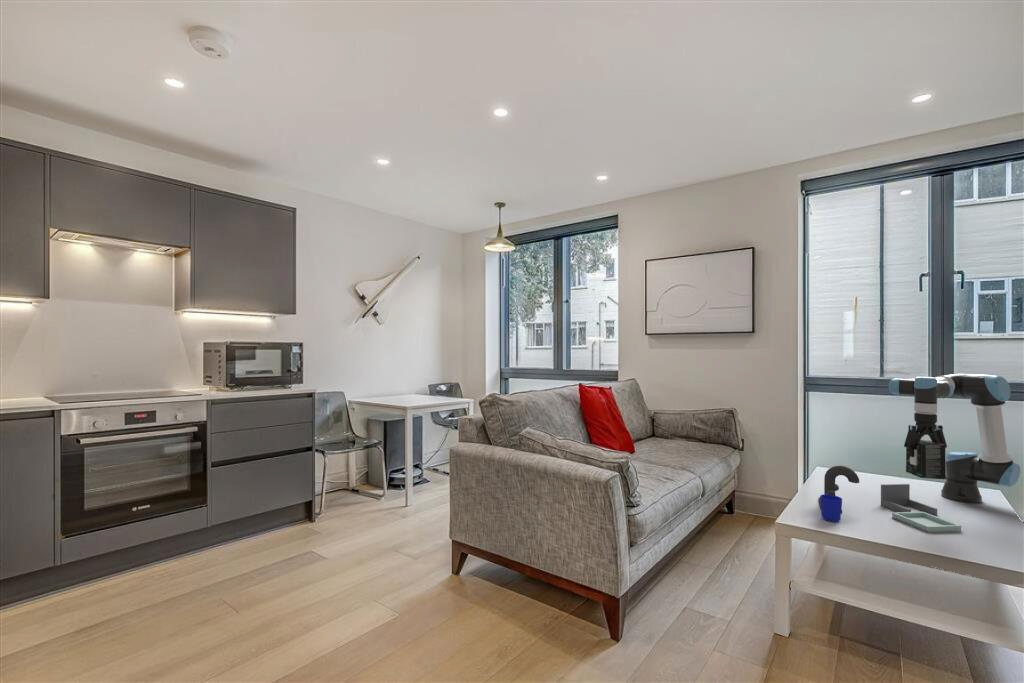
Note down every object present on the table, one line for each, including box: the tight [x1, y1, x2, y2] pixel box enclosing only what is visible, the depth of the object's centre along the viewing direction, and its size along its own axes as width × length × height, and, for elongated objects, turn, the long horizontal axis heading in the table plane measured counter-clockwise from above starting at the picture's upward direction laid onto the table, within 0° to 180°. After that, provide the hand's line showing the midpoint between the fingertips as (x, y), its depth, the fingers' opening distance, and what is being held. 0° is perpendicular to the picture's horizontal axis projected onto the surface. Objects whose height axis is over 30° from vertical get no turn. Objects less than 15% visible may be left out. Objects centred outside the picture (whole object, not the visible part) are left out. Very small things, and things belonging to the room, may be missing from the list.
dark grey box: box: [905, 439, 946, 480], centre depth 209 cm, size 11×9×15 cm
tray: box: [891, 511, 962, 534], centre depth 209 cm, size 15×17×2 cm
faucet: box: [818, 465, 860, 514], centre depth 230 cm, size 18×16×20 cm
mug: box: [819, 494, 843, 523], centre depth 216 cm, size 8×12×10 cm
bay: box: [880, 483, 938, 516], centre depth 227 cm, size 14×15×10 cm
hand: (925, 464), depth 209 cm, fingers closed on dark grey box, 10 cm apart
